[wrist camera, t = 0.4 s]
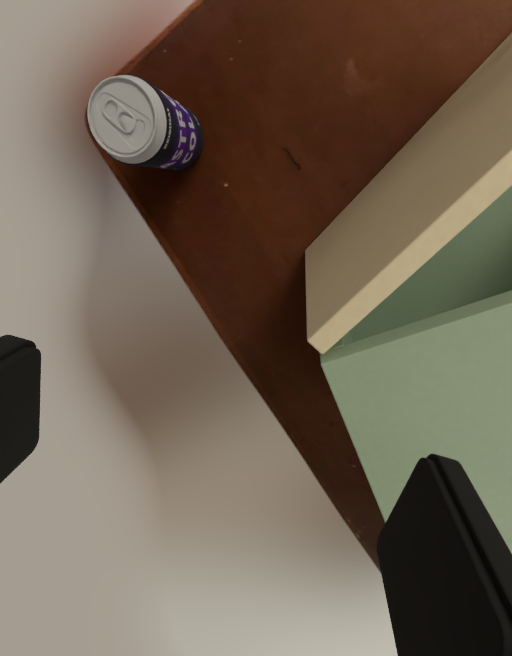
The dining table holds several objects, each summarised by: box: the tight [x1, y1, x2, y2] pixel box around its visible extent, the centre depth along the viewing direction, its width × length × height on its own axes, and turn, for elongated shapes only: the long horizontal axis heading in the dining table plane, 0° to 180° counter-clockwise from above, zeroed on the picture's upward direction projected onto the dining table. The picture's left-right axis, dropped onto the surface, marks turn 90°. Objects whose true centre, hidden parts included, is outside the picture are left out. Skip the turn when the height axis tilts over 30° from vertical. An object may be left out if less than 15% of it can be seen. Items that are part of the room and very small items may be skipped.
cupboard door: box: [305, 33, 512, 354], centre depth 22 cm, size 7×26×24 cm, turn 138°
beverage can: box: [87, 74, 203, 170], centre depth 31 cm, size 6×6×12 cm
